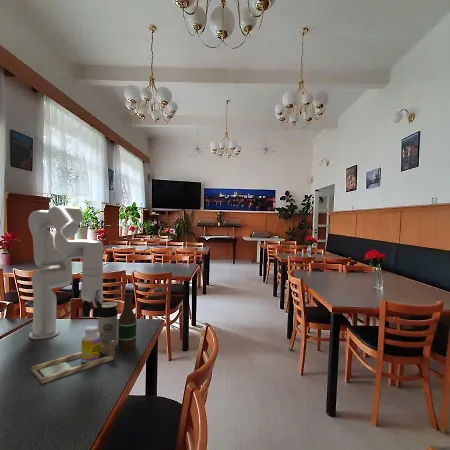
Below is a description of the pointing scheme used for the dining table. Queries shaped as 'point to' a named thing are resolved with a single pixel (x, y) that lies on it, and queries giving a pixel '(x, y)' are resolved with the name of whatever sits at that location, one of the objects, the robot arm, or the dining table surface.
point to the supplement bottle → (90, 344)
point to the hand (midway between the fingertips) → (92, 314)
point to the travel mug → (108, 320)
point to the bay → (63, 369)
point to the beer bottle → (127, 325)
